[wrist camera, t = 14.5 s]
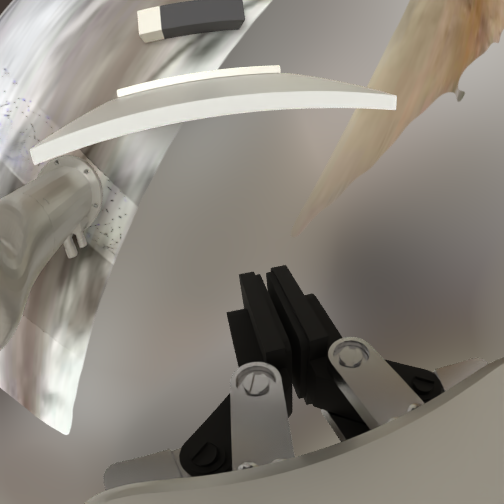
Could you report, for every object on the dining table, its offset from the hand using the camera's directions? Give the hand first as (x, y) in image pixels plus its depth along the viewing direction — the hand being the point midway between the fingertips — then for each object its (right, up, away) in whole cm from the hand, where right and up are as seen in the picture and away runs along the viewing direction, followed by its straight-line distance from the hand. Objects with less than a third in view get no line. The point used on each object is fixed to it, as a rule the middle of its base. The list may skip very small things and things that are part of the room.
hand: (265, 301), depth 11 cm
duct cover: (-4, +16, +10) cm, 19 cm away
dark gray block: (-10, +35, +20) cm, 42 cm away
